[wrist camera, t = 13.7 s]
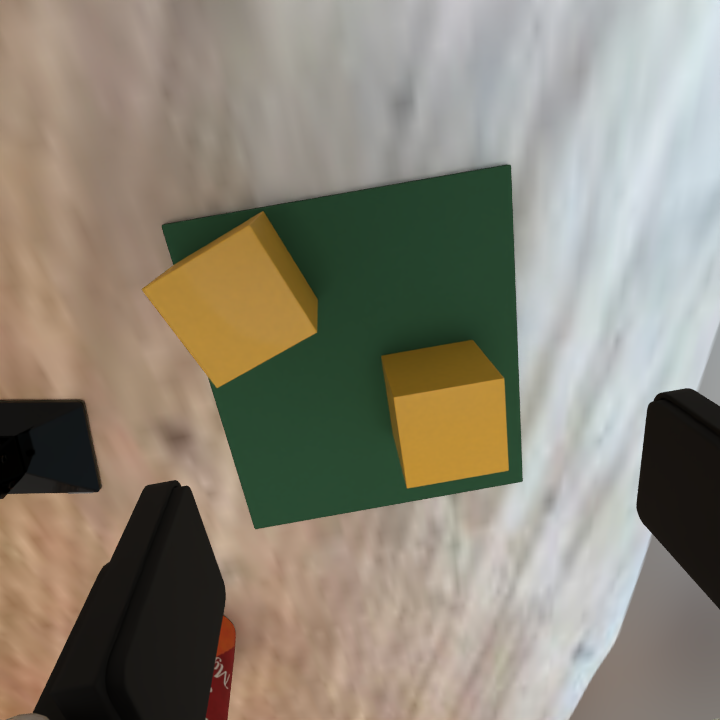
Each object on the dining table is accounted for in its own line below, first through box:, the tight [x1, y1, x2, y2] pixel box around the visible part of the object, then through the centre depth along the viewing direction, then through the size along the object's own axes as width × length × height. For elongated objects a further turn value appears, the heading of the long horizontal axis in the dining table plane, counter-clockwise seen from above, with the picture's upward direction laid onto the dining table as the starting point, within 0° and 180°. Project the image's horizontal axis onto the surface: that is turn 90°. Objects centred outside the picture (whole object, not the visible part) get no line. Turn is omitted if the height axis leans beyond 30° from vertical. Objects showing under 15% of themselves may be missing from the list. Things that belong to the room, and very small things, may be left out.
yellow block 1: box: [142, 211, 318, 388], centre depth 27 cm, size 6×6×6 cm
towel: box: [162, 165, 523, 529], centre depth 32 cm, size 20×22×1 cm
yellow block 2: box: [381, 340, 509, 488], centre depth 30 cm, size 6×6×6 cm
